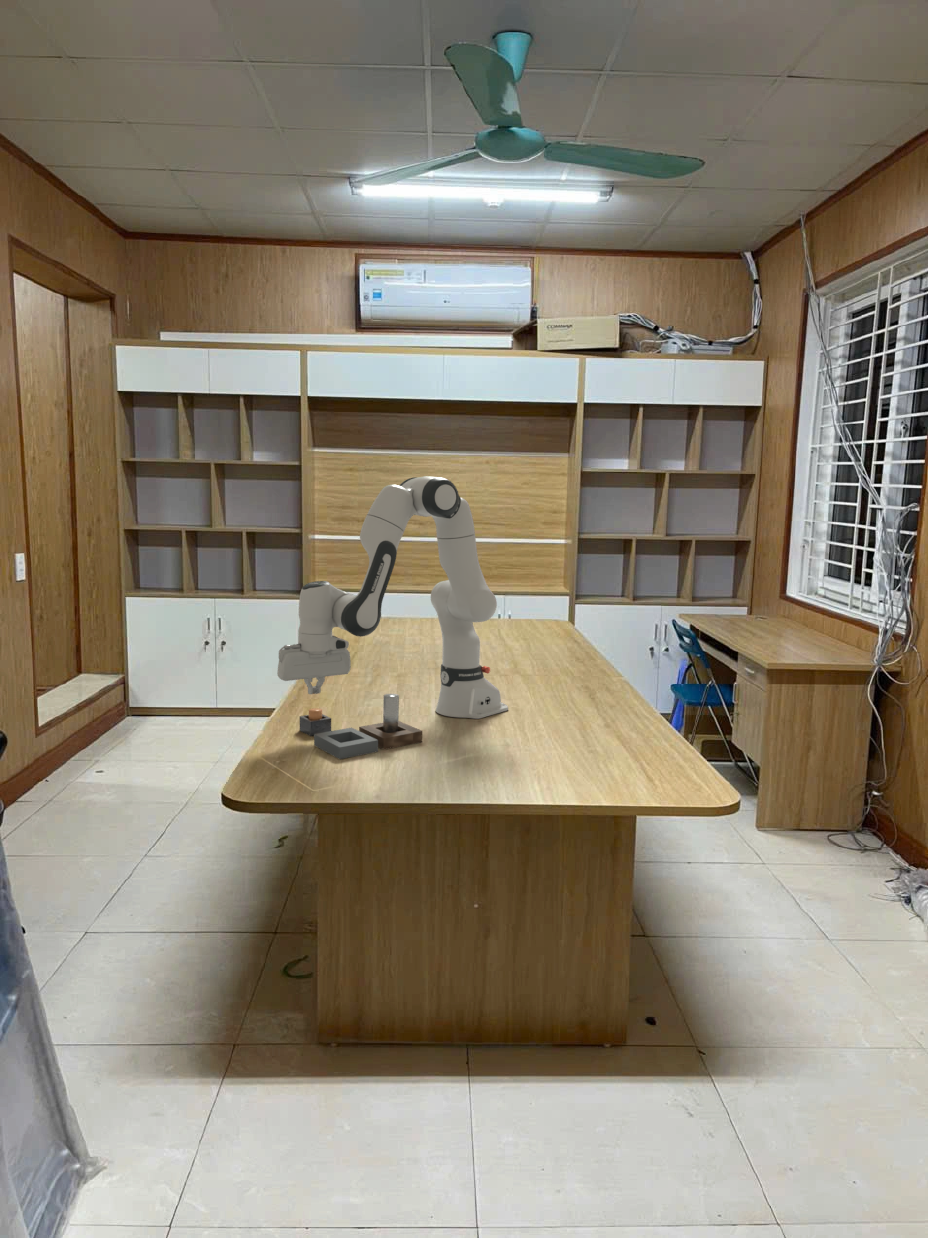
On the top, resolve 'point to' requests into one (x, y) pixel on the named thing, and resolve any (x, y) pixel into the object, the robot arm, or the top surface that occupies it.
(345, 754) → the block
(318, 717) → the brown egg
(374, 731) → the socket block
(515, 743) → the top surface
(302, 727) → the dark grey open box
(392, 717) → the grey metal cylinder
